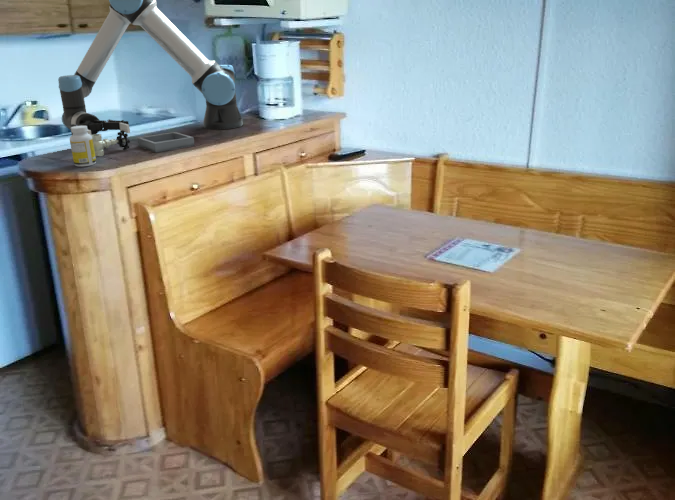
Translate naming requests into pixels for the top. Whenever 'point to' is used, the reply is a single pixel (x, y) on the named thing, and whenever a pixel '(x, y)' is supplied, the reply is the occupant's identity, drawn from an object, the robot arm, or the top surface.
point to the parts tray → (165, 142)
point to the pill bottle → (82, 147)
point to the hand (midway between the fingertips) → (109, 131)
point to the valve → (109, 142)
